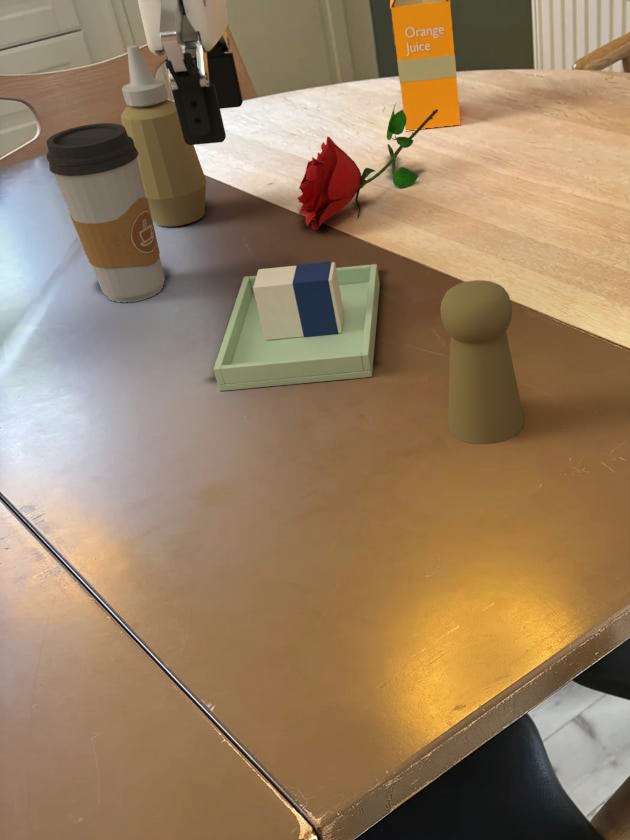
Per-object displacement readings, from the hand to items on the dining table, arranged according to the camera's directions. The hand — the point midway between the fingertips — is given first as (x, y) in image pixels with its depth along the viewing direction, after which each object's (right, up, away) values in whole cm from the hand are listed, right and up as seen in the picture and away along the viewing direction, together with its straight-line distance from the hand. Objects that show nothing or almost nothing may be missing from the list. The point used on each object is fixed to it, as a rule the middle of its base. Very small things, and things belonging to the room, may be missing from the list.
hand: (215, 124), depth 83 cm
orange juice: (+15, +30, +58) cm, 67 cm away
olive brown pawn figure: (+22, -26, -4) cm, 34 cm away
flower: (+9, +11, +38) cm, 40 cm away
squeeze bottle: (-14, +7, +36) cm, 39 cm away
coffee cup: (-14, -6, +21) cm, 26 cm away
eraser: (+6, -14, +10) cm, 18 cm away
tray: (+6, -14, +10) cm, 18 cm away
